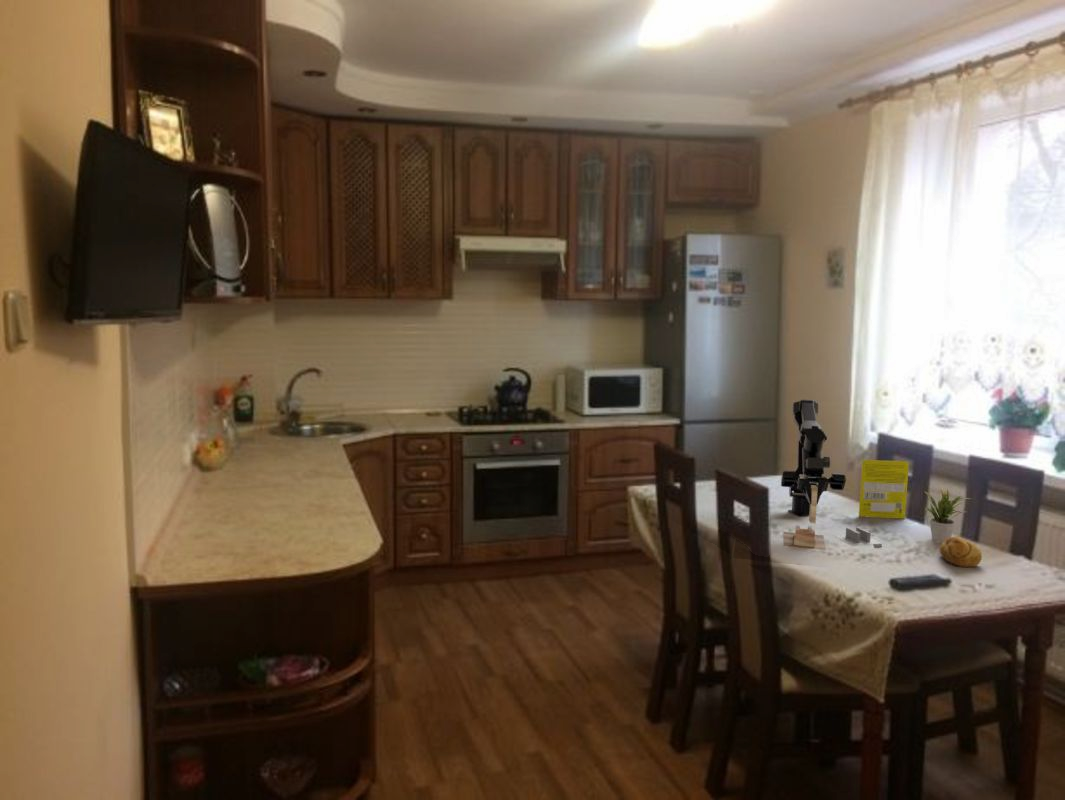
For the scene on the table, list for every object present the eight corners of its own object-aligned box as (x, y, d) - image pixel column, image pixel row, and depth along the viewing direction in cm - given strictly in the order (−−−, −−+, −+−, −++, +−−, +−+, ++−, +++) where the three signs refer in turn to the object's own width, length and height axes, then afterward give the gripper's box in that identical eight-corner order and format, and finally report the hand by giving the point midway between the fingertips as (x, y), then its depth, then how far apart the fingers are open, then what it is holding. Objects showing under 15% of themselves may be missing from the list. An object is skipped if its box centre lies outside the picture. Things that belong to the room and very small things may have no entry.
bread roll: (931, 554, 247) (934, 528, 246) (965, 555, 247) (967, 529, 246) (951, 568, 234) (954, 541, 233) (986, 569, 234) (989, 542, 233)
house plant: (978, 549, 253) (982, 496, 250) (931, 547, 253) (935, 495, 251) (956, 535, 267) (961, 485, 264) (912, 534, 267) (916, 484, 265)
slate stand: (833, 538, 261) (834, 526, 261) (862, 537, 263) (863, 524, 263) (852, 548, 252) (853, 535, 251) (881, 546, 254) (882, 533, 253)
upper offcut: (795, 534, 254) (795, 528, 254) (814, 536, 253) (814, 529, 252) (795, 537, 251) (796, 531, 250) (814, 539, 249) (814, 533, 249)
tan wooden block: (809, 519, 259) (810, 485, 258) (814, 520, 258) (816, 485, 257) (810, 523, 255) (812, 487, 254) (815, 523, 255) (817, 488, 253)
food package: (904, 518, 286) (908, 461, 284) (905, 519, 285) (909, 461, 282) (858, 516, 288) (862, 459, 285) (859, 517, 287) (863, 460, 284)
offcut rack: (783, 534, 265) (783, 522, 264) (823, 538, 261) (823, 526, 261) (783, 548, 250) (784, 535, 250) (825, 552, 247) (826, 539, 247)
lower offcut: (793, 541, 255) (794, 534, 254) (814, 543, 253) (815, 536, 253) (794, 545, 251) (794, 537, 251) (815, 547, 249) (815, 539, 249)
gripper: (783, 445, 260) (784, 487, 250) (847, 448, 256) (850, 491, 246) (780, 464, 268) (781, 506, 259) (841, 468, 264) (844, 510, 255)
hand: (813, 503), depth 255 cm, fingers closed on tan wooden block, 1 cm apart
